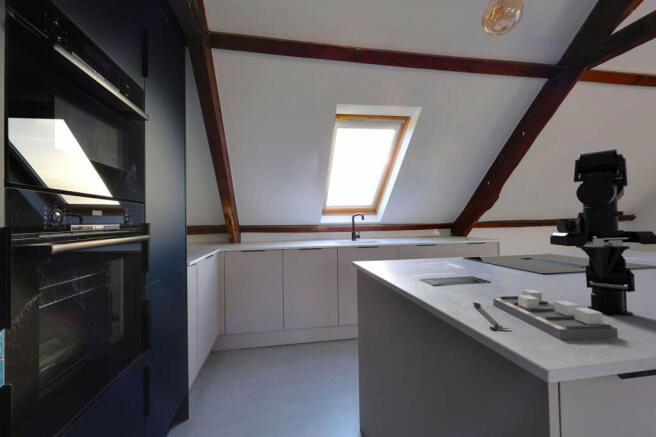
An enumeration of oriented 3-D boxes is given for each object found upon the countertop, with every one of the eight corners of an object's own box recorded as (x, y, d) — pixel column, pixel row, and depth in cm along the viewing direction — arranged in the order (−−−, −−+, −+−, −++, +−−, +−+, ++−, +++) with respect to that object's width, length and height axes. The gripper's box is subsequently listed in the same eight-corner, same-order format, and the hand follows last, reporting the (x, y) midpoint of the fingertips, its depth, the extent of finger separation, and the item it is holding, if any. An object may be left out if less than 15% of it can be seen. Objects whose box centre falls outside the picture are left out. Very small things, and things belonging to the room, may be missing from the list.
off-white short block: (587, 318, 67) (587, 307, 67) (602, 324, 63) (602, 312, 63) (574, 318, 67) (574, 308, 67) (588, 324, 63) (588, 313, 63)
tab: (529, 304, 79) (529, 295, 79) (539, 308, 75) (538, 298, 75) (518, 304, 79) (517, 295, 79) (527, 308, 75) (526, 299, 75)
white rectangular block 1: (532, 297, 85) (532, 289, 85) (541, 301, 81) (541, 292, 81) (522, 298, 85) (522, 289, 85) (531, 301, 81) (530, 292, 81)
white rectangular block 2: (566, 310, 73) (566, 300, 73) (578, 315, 69) (578, 304, 69) (554, 310, 73) (554, 301, 73) (566, 315, 69) (565, 305, 69)
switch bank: (534, 304, 86) (534, 295, 86) (617, 338, 61) (617, 325, 61) (493, 305, 86) (493, 296, 86) (560, 339, 61) (559, 327, 61)
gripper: (609, 207, 73) (611, 270, 73) (533, 210, 74) (535, 271, 74) (657, 205, 62) (660, 278, 62) (567, 208, 63) (570, 280, 63)
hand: (602, 276), depth 65 cm, fingers closed
